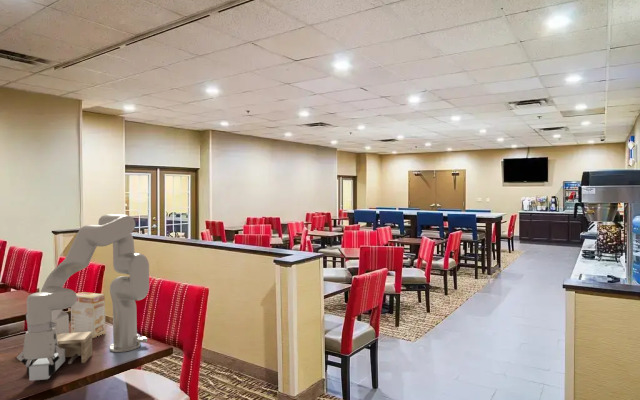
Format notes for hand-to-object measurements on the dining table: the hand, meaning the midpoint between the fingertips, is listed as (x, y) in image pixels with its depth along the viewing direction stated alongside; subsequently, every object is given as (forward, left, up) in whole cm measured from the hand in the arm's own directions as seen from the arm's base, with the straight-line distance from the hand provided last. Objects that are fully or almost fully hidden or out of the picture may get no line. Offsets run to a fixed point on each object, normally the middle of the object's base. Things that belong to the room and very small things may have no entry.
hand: (41, 374), depth 153 cm
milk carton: (+7, -31, -3) cm, 32 cm away
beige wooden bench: (0, -19, -2) cm, 19 cm away
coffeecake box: (0, -50, -3) cm, 50 cm away
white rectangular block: (0, -6, -1) cm, 6 cm away
